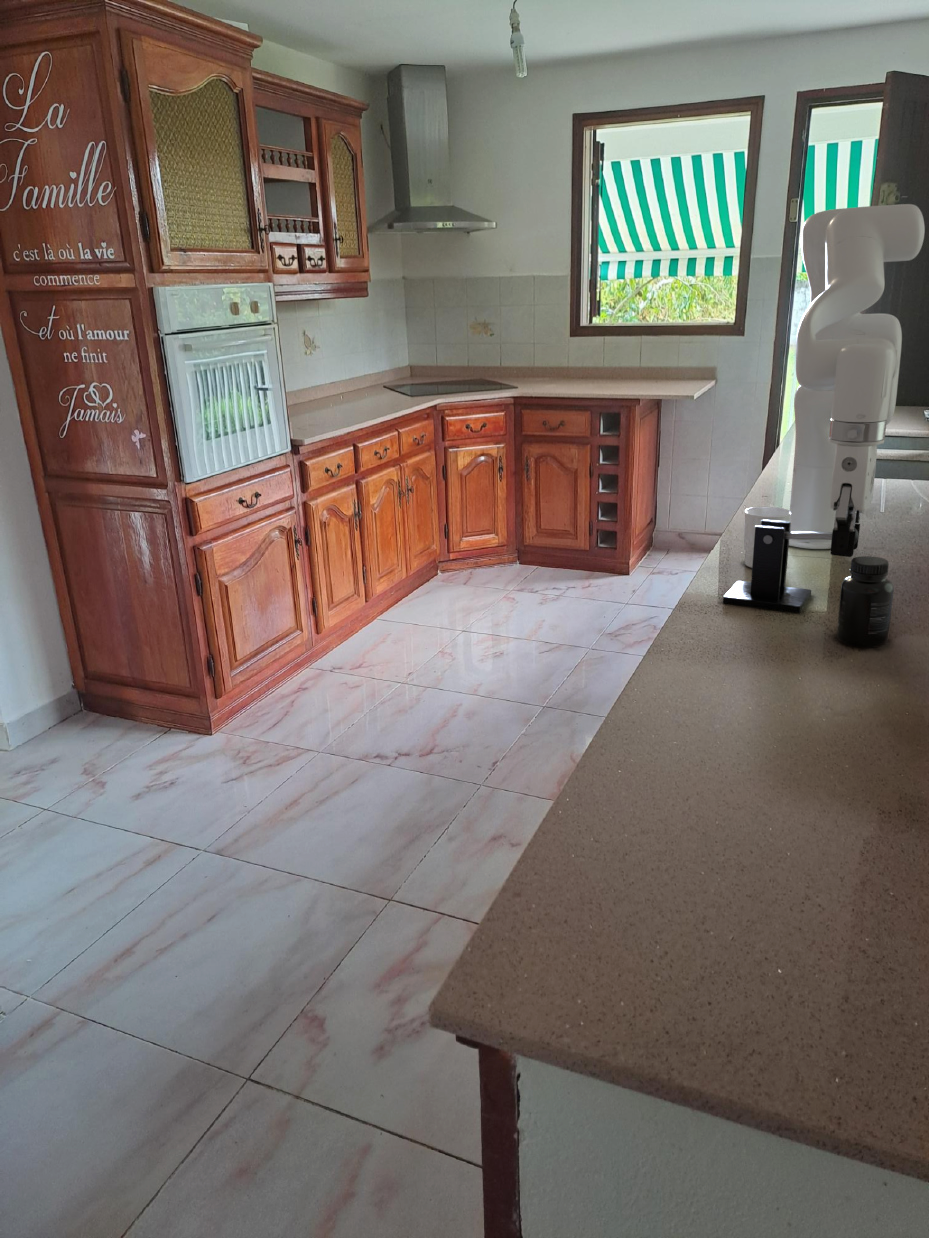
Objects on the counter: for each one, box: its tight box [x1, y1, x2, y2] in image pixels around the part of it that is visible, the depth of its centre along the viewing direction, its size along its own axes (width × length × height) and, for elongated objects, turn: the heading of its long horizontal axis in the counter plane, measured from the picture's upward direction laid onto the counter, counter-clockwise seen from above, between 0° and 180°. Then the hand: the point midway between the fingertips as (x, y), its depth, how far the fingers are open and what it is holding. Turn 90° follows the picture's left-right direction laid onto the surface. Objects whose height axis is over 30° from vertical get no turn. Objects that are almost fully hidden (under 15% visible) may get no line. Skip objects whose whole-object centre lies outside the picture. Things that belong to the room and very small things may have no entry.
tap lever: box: [771, 526, 860, 543], centre depth 137 cm, size 14×3×3 cm, turn 59°
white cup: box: [743, 506, 791, 569], centre depth 160 cm, size 8×8×10 cm
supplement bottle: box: [836, 555, 895, 649], centre depth 125 cm, size 7×7×12 cm
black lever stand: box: [722, 519, 812, 615], centre depth 142 cm, size 12×9×13 cm
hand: (843, 550), depth 136 cm, fingers closed on tap lever, 3 cm apart
